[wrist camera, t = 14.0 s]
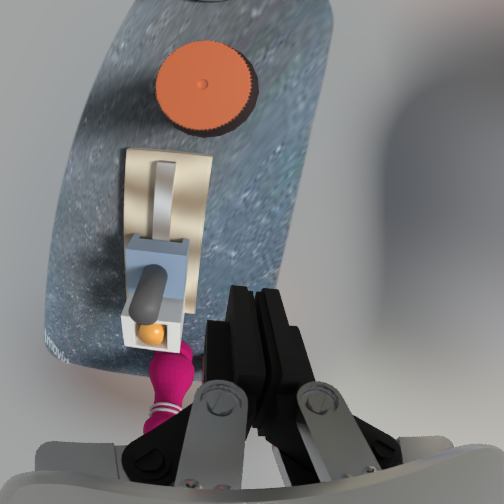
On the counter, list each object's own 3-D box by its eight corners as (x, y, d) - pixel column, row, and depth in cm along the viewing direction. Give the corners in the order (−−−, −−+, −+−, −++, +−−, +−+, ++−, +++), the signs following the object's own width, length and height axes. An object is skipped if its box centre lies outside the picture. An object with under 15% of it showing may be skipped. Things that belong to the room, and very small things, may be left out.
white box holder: (135, 277, 39) (120, 315, 32) (186, 283, 40) (180, 323, 33) (136, 306, 41) (124, 345, 34) (184, 312, 42) (179, 353, 35)
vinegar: (186, 66, 29) (142, 25, 11) (246, 69, 30) (277, 28, 12) (181, 123, 32) (133, 148, 14) (241, 125, 33) (264, 153, 15)
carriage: (134, 233, 36) (106, 283, 26) (189, 239, 37) (179, 292, 27) (134, 274, 38) (112, 331, 28) (186, 280, 39) (177, 340, 30)
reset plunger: (143, 304, 36) (137, 325, 32) (167, 307, 36) (162, 328, 33) (144, 322, 37) (139, 343, 34) (167, 325, 38) (163, 346, 34)
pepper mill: (159, 366, 49) (146, 467, 32) (147, 337, 46) (126, 445, 28) (199, 364, 50) (197, 468, 32) (191, 334, 46) (184, 447, 29)
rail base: (130, 147, 32) (123, 150, 30) (213, 154, 34) (212, 158, 32) (129, 299, 42) (125, 310, 40) (195, 307, 44) (194, 319, 41)
